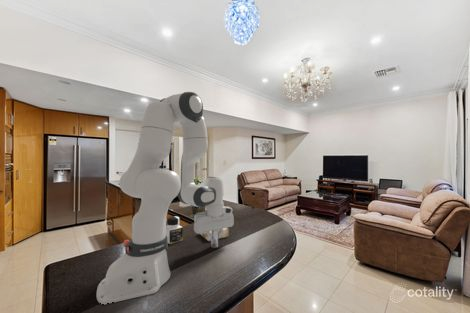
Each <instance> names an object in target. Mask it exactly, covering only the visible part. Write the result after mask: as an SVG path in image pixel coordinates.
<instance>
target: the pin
mask: <svg viewBox="0 0 470 313" xmlns="http://www.w3.org/2000/svg"><path fill="white" fill-rule="evenodd" d="M211 236H212V240H211V241H210V245H211V248H213V249H216V248H218V247H219V239H218V230H213V231H211Z"/></svg>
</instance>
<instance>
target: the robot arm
mask: <svg viewBox="0 0 470 313" xmlns="http://www.w3.org/2000/svg"><path fill="white" fill-rule="evenodd" d="M203 111H204V105H203V101H202V99H201V97H200V96H199V94H197V93H196V92H193V91H184V92H183V93H177V94H172V95H169V96H168V97H165V98H162V99H161V100H160V101H153V102H150V103H149V104H148V105H147V107H146V108H145V112H144V114H143V117H142V121H141V127H140V132H139V138H138V143H137V144H138V145H137V148H136V152H135V154H134V157H133V159H132V160H131V162H130V165H129V166H128V167H127V169H126V171H124V172H123V173H122V174H121V175H120V178H119V181H118V182H119V189H120V190H121V191H122V192H123V193H125V194H126V195H127V196H130V197H131V198H137V199H141V201H140V206H139V210H138V212H136V213H135V214H134V215H133V217H132V220H131V239H130V240H129V239H124V241H123V242H122V244H123V247H124V252H123V254H122V255H121V256H120V257H118V258H117V259H116V260H115V261H114V262H112V263H111V264H110V265H109V267H108V269H107V270H106V274H105V277H104V278H103V279H102V280H101V281H100V283H99V284H98V285H97V289H96V293H95V294H96V300H97V302H98V303H99V304H100V303H101V304H100V305H102V304H104V305H108V304H107V303H109V304H113V303H112V302H114V303H118V302H122V301H126V300H131V299H135V298H139V297H144V296H149V295H152V294H156V293H157V292H158V291H159V290H160V288H161V286H163V285H164V284H165V283H167V282H168V281H169V279H170V278H171V274H172V273H171V270H170V267H169V262H168V255H167V254H168V253H167V252H168V246H169V245H168V244H169V243H168V240H167V236H166V226H167V215H168V211H169V208H170V205H171V203H172V201H174V199H175V198H176V197H177V196H178V197H177V198H178V200H179V202H180V203H182V204H184V205H191V206H194V207H197V208H203V207H205V209H204V211H201V212H200V211H199V212H197V213H196V214H194V216H193V221H194V222H193V232H195V234H197V235H200V233H204V232H206V234H207V236H208V240H212V236H211V235H209V233H210V231H213V230H218V229H219V233H218V238H220V239H222V238H221V234H222V232H223V228H231V227H233V226H234V223H235V220H234V219H235V218H234V214H233V208H232V207H231V206H226V205H224V201H223V200H224V199H223V198H224V183H223V180H222V179H221V178H220V177H216V176H207V177H206V178H205V179H204V180H203V181H202V182H201V183H198V184H196V183H195V165H196V164H197V162H198V161H199V160H200V159H202V158H203V157H204V156H205V155H206V154H207V152H208V148H209V141H208V140H209V139H208V138H209V137H208V130H207V125H206V121H205V118H204V116H203V113H204V112H203ZM175 123H180V125H181V127H182V154H181V163H180V164H181V165H180V176H179V174H178V173H177V172H175V171H173V170H170V169H166V168H160V167H161V165H162V163H163V161H164V160H165V159H166V158H167V157H168V156H169V155H170V153H171V147H172V142H173V141H172V139H173V133H174V124H175ZM208 240H207V241H208Z"/></svg>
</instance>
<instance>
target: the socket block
mask: <svg viewBox="0 0 470 313" xmlns="http://www.w3.org/2000/svg"><path fill="white" fill-rule="evenodd" d="M229 230H230V229H229V227H227V228H223V232H222V234H221V238H218V240H219V239H224V238H227V237H230V236H229V235H230V234H229V232H230V231H229ZM218 233H219V229H218ZM199 235H200V236H202V238H204V239H205V240H207V241H208V242H211V240H208V236H207V234H206V232H204V233H199ZM209 235H211V231H210V233H209Z"/></svg>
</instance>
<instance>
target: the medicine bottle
mask: <svg viewBox="0 0 470 313" xmlns="http://www.w3.org/2000/svg"><path fill="white" fill-rule="evenodd" d="M183 232H184V230H183V226H182V225H180V217H179V216H169V217H168V218H166V236H167V240H168V244H169V245H173V244H175V243H178V242H182V241H183V240H184V238H183V236H184V234H183Z"/></svg>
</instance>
